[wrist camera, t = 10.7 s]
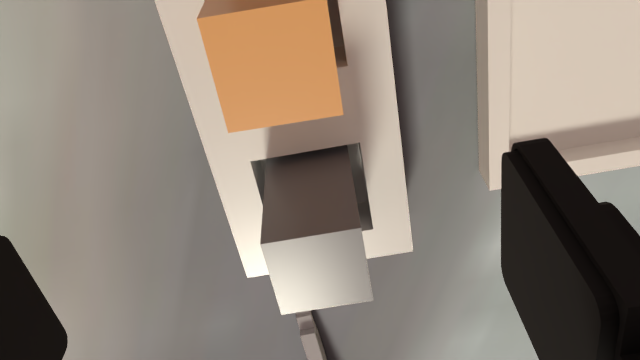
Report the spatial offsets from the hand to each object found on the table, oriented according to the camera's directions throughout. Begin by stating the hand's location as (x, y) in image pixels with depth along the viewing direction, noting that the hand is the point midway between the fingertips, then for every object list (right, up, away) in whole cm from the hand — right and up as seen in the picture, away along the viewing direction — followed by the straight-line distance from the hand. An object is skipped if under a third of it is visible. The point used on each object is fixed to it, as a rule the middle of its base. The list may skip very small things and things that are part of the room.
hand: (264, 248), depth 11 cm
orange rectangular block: (-1, +9, +14) cm, 17 cm away
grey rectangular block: (+1, +2, +19) cm, 19 cm away
